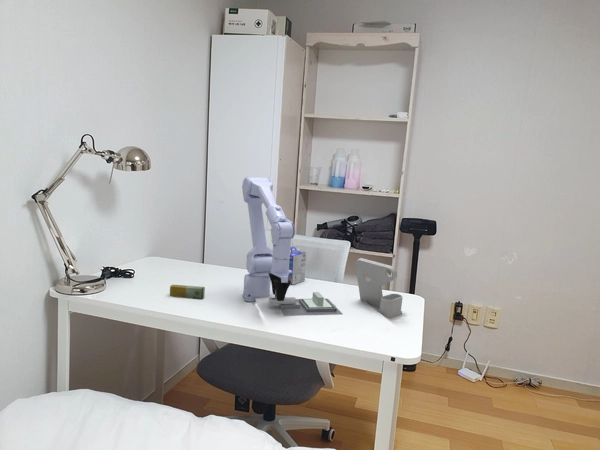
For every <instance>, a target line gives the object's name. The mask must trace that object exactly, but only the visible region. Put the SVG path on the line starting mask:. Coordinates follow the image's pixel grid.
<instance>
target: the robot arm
mask: <svg viewBox="0 0 600 450" xmlns="http://www.w3.org/2000/svg"><path fill="white" fill-rule="evenodd" d="M273 186H274V184H273V180H272V178H270V177H258V176H257V177H251V176H245V177H244V178H243V181H242V186H241V189H242V197H243V201H244V202H245V203H246V204H247V208H248V209H247V210H248V218H249V224H250V233H251V240H252V241H251V242H252V248H251V250H249V251H248V253H246V271H247V272H248V273H246V274H244V278H243V294H242V295H243V298H244V300H245V302H257V300H256V298H261V299H263V298H269V297H270V294H271V291H272V294H273V295H274V296H275V289H276V297H277V301H284V298H285V297H286V294H287V292H288V290H289V287H290V286H291V285H290V284H291V281H290V280H289V281H288V275H289V274H290V273H292V271H291V270H289V260H290V252H291V249H290V247H292V246H291V243H292V239H294V237H295V235H296V227H295V225H294V222H293V221H292V220H290V219H288V218H287V217H286V214H285V212H284V210H283V208H282V206H280V205H278V204H277V202H276V199H275V196H274V194H273V188H274V187H273ZM262 205H264V207H265V209H266V211H265V215H266V217H267V218H266V219H267V220H268V222H269V224H270V227H271V228H270V235H271V243H272V249H271V248H270V247H269V246H268V245H267V237H266V229H265V222H264V214H263V206H262Z"/></svg>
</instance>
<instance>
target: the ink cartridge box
mask: <svg viewBox="0 0 600 450" xmlns="http://www.w3.org/2000/svg"><path fill="white" fill-rule="evenodd" d="M306 260H307V252H306V251H300V250H297V247H296V246H290V260H289V270H291V271H292V273H290V274H289V275H288V281H289V280H290V281H291V285H290V286H292V285H296V284H299V283H301V282H303V281H305V277H306V264H307V263H306Z"/></svg>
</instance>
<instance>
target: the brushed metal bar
mask: <svg viewBox="0 0 600 450" xmlns="http://www.w3.org/2000/svg"><path fill="white" fill-rule="evenodd" d="M296 299H297V298H296V297H294V296H292V297H288V296H287V297H286V296H285V298H284V301H277V297H276V289H275V295H274V297H268V304H269V305H277V304H296Z"/></svg>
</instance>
